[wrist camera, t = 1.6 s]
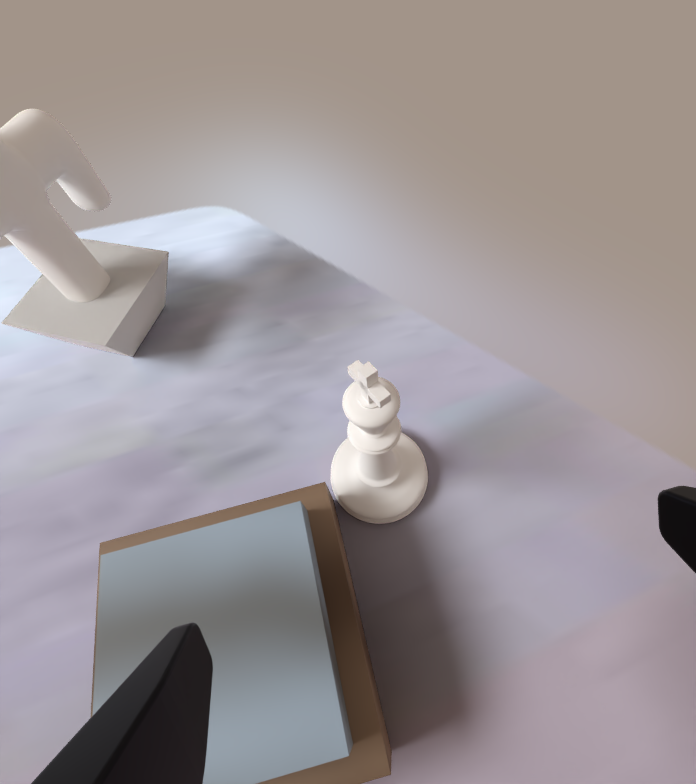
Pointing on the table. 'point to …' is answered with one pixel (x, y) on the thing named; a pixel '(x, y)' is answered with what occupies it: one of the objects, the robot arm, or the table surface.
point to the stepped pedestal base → (254, 637)
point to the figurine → (72, 245)
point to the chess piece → (376, 453)
